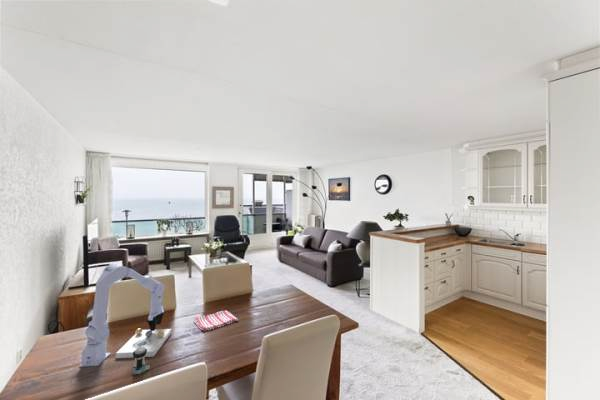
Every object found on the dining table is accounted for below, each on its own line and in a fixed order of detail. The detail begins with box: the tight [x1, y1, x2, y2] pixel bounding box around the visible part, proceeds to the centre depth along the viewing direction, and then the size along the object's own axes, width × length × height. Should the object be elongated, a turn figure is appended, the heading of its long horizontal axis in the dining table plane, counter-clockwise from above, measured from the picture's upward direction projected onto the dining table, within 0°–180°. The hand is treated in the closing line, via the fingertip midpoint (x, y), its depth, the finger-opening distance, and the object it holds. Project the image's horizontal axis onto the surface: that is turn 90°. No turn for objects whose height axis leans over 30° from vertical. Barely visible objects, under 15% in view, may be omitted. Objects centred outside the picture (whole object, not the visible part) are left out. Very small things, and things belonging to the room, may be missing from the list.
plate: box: [115, 328, 172, 359], centre depth 132 cm, size 22×17×2 cm
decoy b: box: [157, 331, 164, 338], centre depth 135 cm, size 3×3×3 cm
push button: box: [132, 347, 150, 376], centre depth 111 cm, size 7×5×10 cm
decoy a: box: [134, 327, 143, 335], centre depth 137 cm, size 3×3×3 cm
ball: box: [145, 331, 152, 337], centre depth 135 cm, size 3×3×3 cm
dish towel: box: [193, 310, 239, 332], centre depth 160 cm, size 17×23×4 cm
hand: (155, 327), depth 144 cm, fingers open, 7 cm apart
